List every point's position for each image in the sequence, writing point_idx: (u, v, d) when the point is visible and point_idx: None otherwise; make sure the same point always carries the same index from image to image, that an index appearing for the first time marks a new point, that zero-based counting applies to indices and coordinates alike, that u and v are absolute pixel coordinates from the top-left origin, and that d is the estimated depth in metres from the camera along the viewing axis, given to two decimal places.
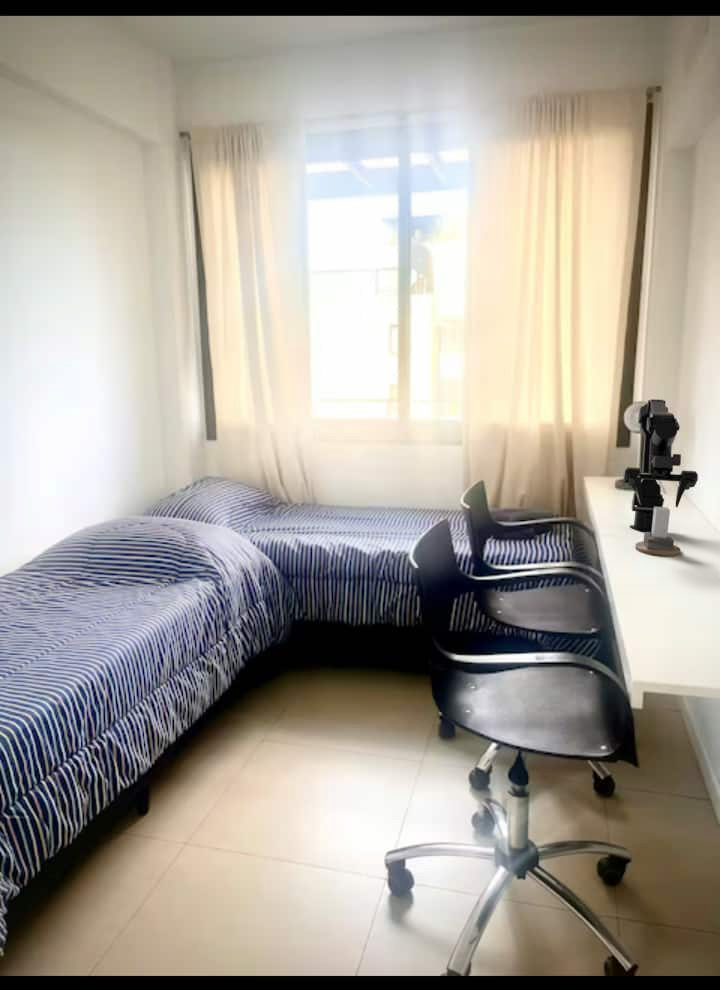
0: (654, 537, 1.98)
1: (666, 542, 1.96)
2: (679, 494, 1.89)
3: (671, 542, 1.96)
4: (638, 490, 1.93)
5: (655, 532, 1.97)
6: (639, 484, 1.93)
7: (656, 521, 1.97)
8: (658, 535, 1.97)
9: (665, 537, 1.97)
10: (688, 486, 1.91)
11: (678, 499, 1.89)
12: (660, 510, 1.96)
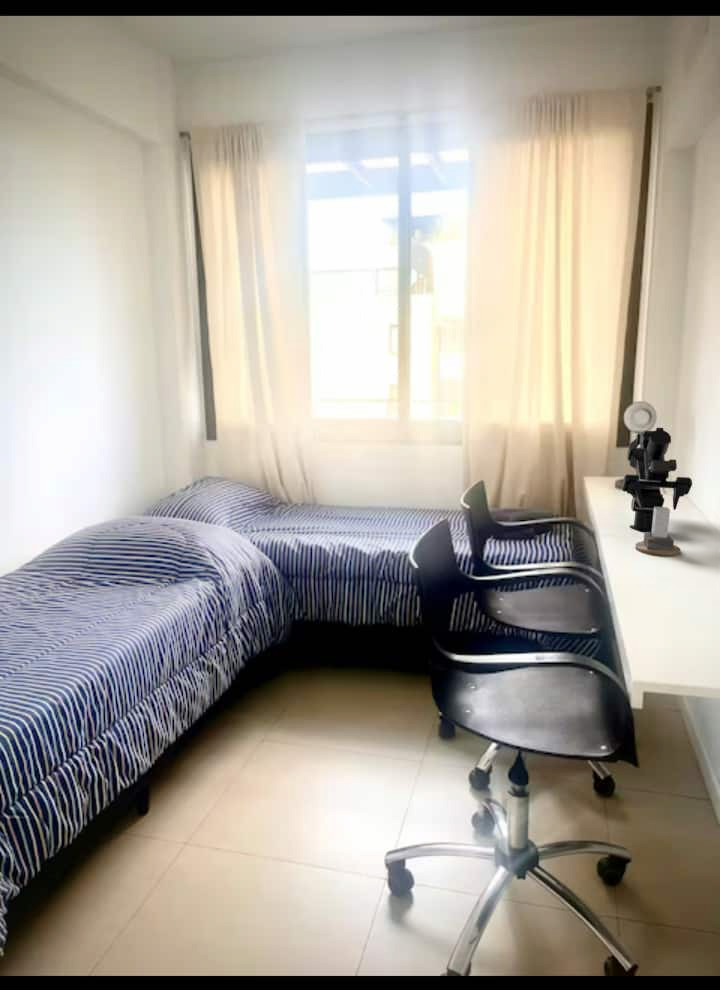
0: (654, 537, 1.98)
1: (666, 542, 1.96)
2: (676, 497, 2.02)
3: (671, 542, 1.96)
4: (638, 494, 2.05)
5: (655, 532, 1.97)
6: (638, 489, 2.05)
7: (656, 521, 1.97)
8: (658, 535, 1.97)
9: (665, 537, 1.97)
10: (683, 492, 2.05)
11: (676, 502, 2.02)
12: (660, 510, 1.96)
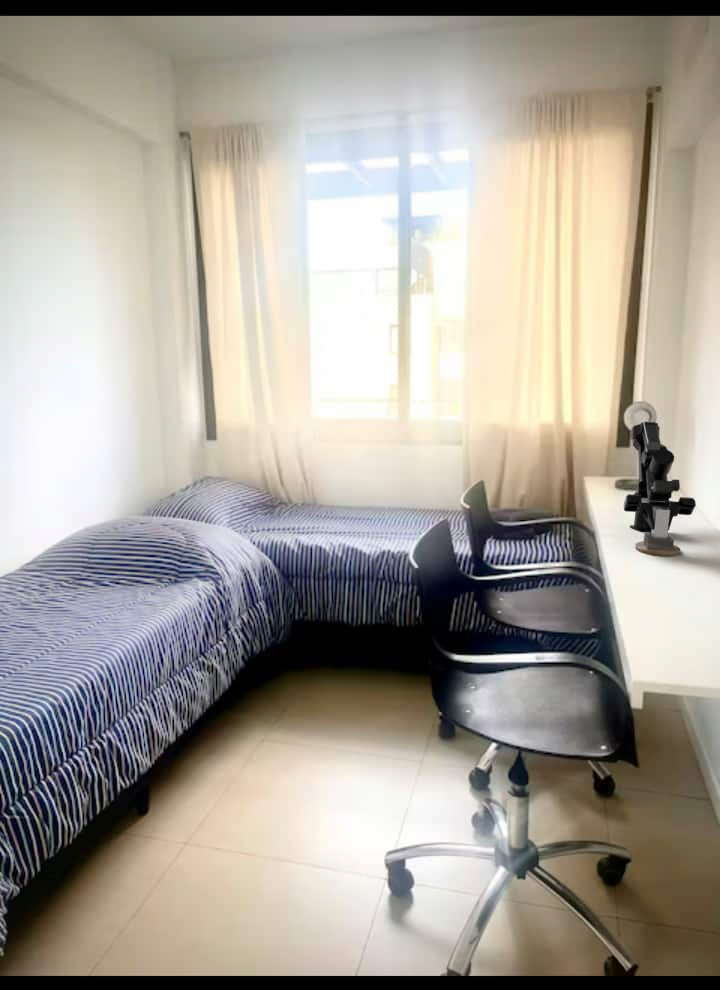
0: (654, 537, 1.98)
1: (666, 542, 1.96)
2: (669, 518, 1.98)
3: (671, 542, 1.96)
4: (650, 515, 1.99)
5: (655, 532, 1.97)
6: (650, 510, 1.99)
7: (656, 521, 1.97)
8: (658, 535, 1.97)
9: (665, 537, 1.97)
10: (677, 512, 2.00)
11: (669, 522, 1.97)
12: (660, 510, 1.96)
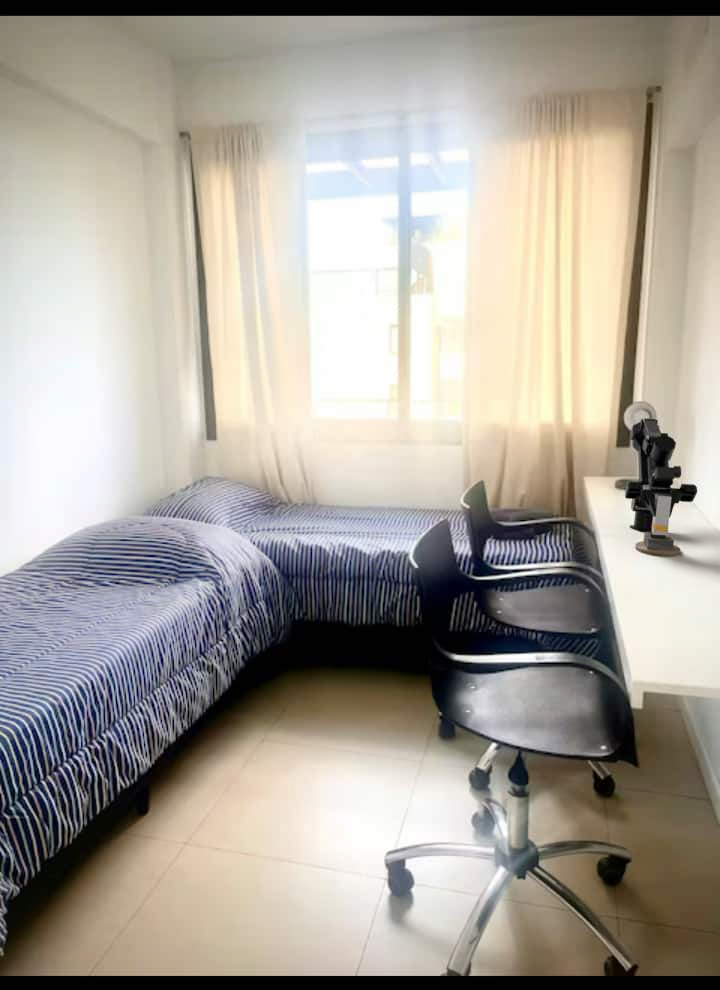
0: (655, 524, 1.97)
1: (666, 542, 1.96)
2: (671, 504, 1.97)
3: (671, 542, 1.96)
4: (651, 502, 1.98)
5: (656, 519, 1.97)
6: (652, 497, 1.99)
7: (657, 508, 1.96)
8: (659, 522, 1.97)
9: (666, 524, 1.96)
10: (678, 498, 1.99)
11: (670, 509, 1.96)
12: (661, 497, 1.95)
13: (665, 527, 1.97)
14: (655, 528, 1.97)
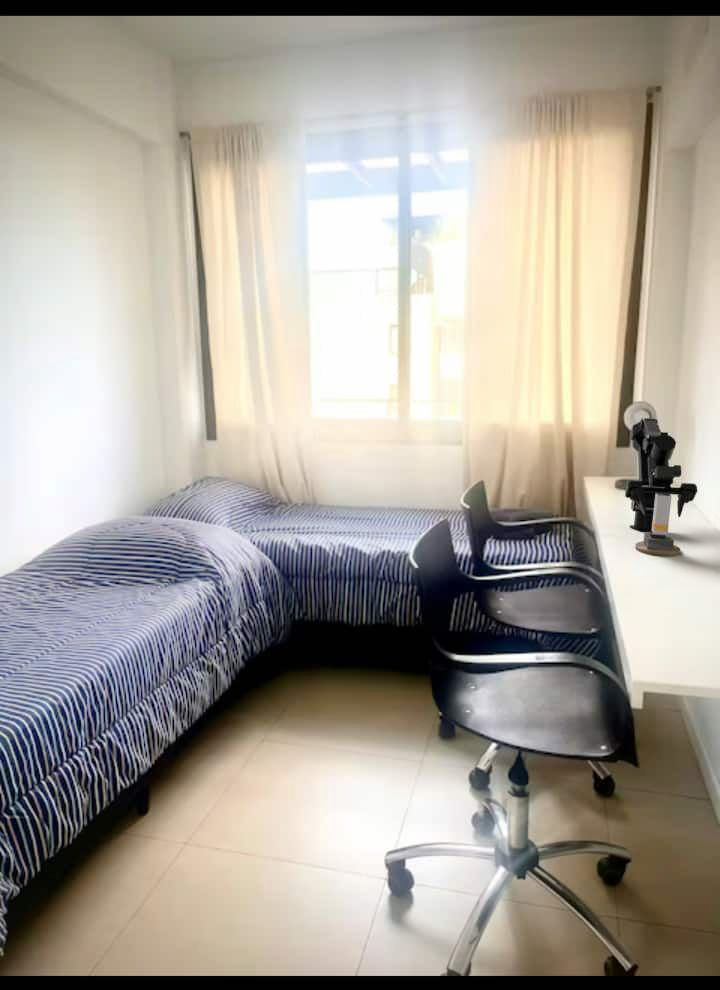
0: (655, 523, 1.97)
1: (666, 542, 1.96)
2: (681, 504, 1.96)
3: (671, 542, 1.96)
4: (641, 501, 1.98)
5: (656, 518, 1.97)
6: (642, 495, 1.99)
7: (658, 507, 1.96)
8: (660, 521, 1.97)
9: (667, 523, 1.96)
10: (688, 498, 1.98)
11: (680, 509, 1.96)
12: (662, 496, 1.95)
13: (665, 526, 1.96)
14: (655, 527, 1.97)
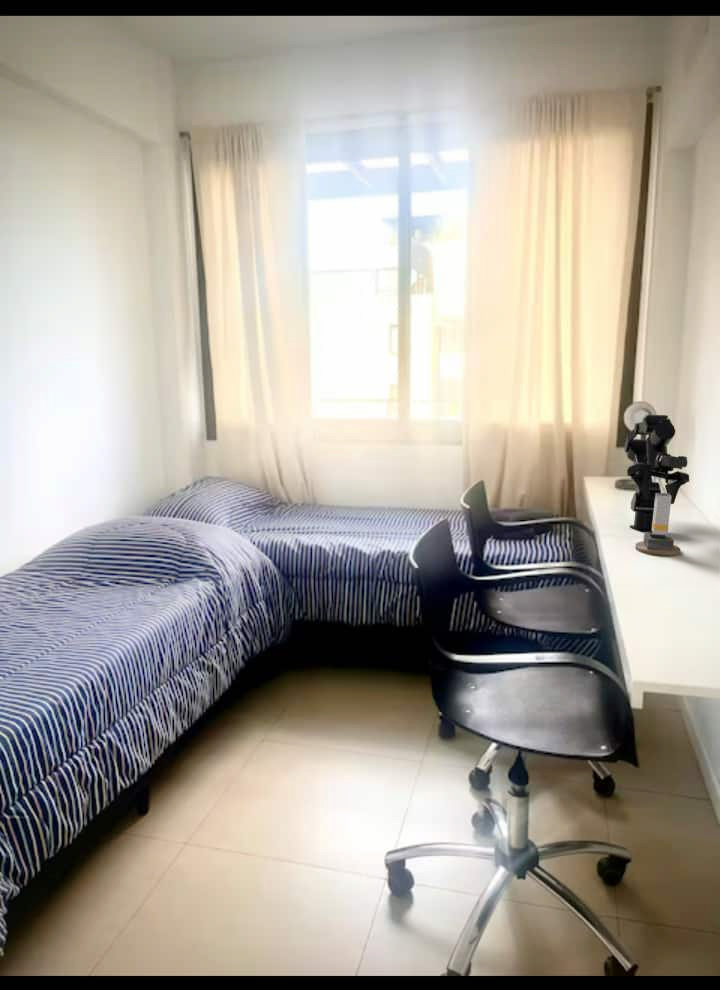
0: (655, 523, 1.97)
1: (666, 542, 1.96)
2: (675, 492, 2.07)
3: (671, 542, 1.96)
4: (647, 485, 2.04)
5: (656, 518, 1.97)
6: (648, 479, 2.05)
7: (658, 507, 1.96)
8: (660, 521, 1.97)
9: (667, 523, 1.96)
10: None
11: (674, 497, 2.07)
12: (662, 496, 1.95)
13: (665, 526, 1.96)
14: (655, 527, 1.97)
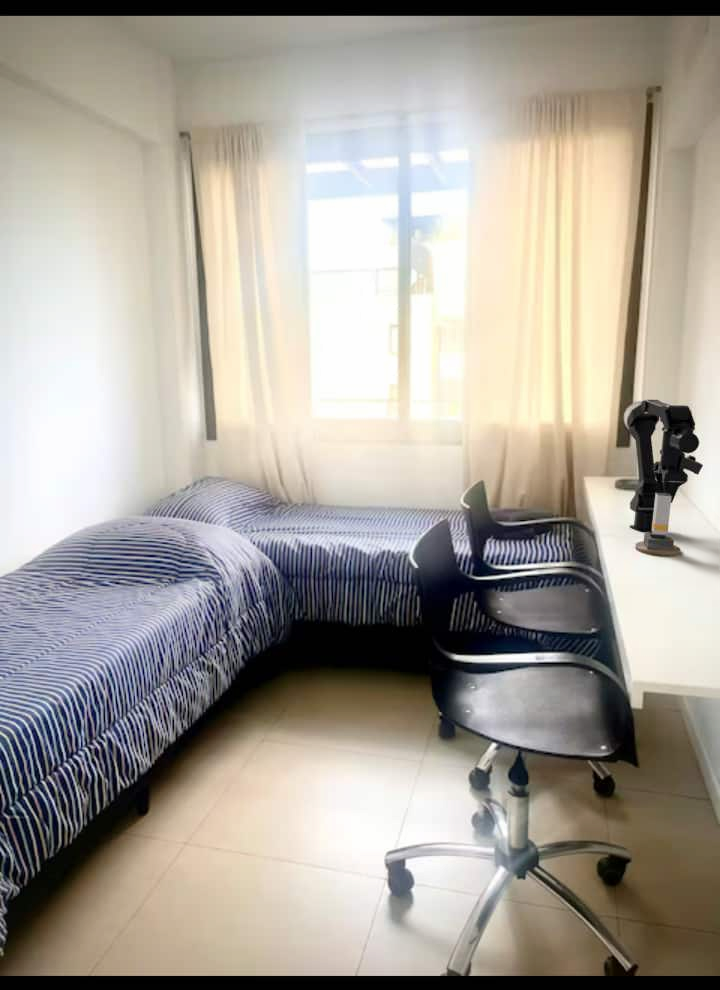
0: (655, 523, 1.97)
1: (666, 542, 1.96)
2: None
3: (671, 542, 1.96)
4: None
5: (656, 518, 1.97)
6: None
7: (658, 507, 1.96)
8: (660, 521, 1.97)
9: (667, 523, 1.96)
10: None
11: None
12: (662, 496, 1.95)
13: (665, 526, 1.96)
14: (655, 527, 1.97)
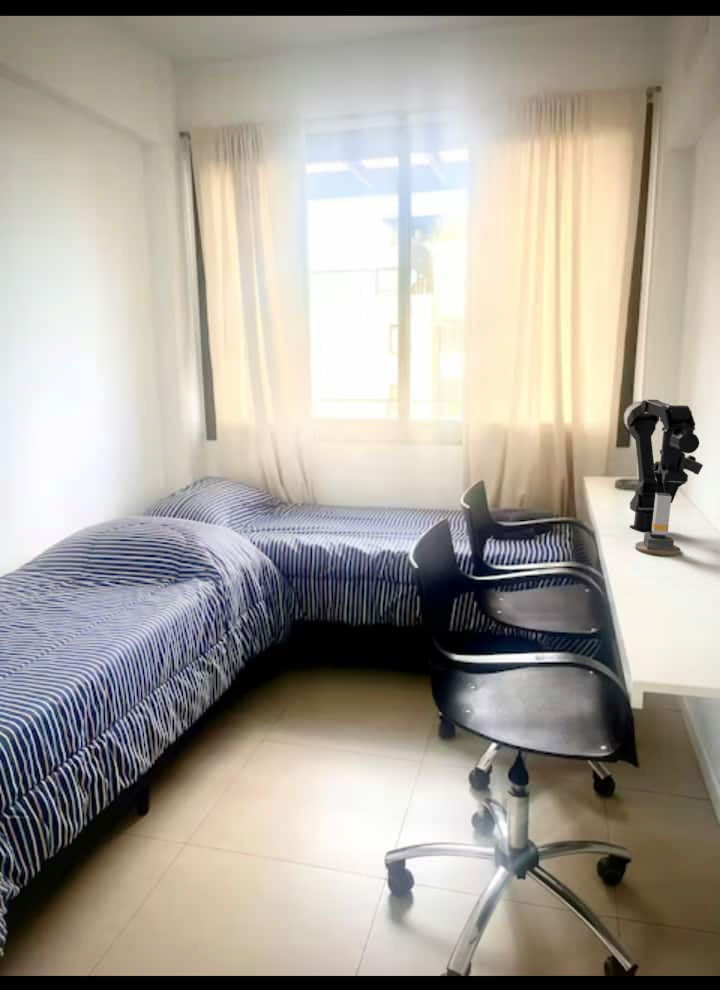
0: (655, 523, 1.97)
1: (666, 542, 1.96)
2: None
3: (671, 542, 1.96)
4: None
5: (656, 518, 1.97)
6: None
7: (658, 507, 1.96)
8: (660, 521, 1.97)
9: (667, 523, 1.96)
10: None
11: None
12: (662, 496, 1.95)
13: (665, 526, 1.96)
14: (655, 527, 1.97)
